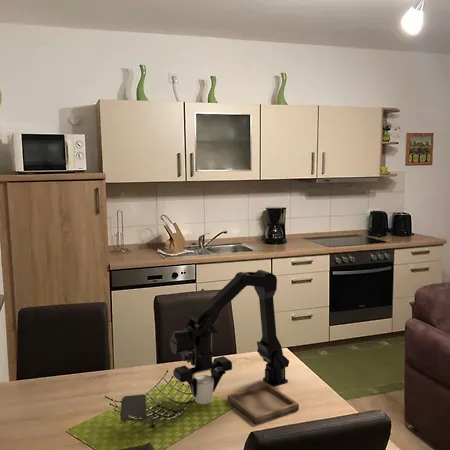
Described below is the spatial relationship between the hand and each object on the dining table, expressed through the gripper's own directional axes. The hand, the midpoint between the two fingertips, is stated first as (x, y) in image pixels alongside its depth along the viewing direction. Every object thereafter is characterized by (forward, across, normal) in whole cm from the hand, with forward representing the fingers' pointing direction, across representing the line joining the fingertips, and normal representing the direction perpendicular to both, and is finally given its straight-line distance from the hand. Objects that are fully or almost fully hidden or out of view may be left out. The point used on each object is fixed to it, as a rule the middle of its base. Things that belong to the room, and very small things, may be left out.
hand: (203, 394), depth 154 cm
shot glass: (+2, 0, 0) cm, 2 cm away
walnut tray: (+2, -14, +13) cm, 19 cm away
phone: (+3, +21, -7) cm, 22 cm away
